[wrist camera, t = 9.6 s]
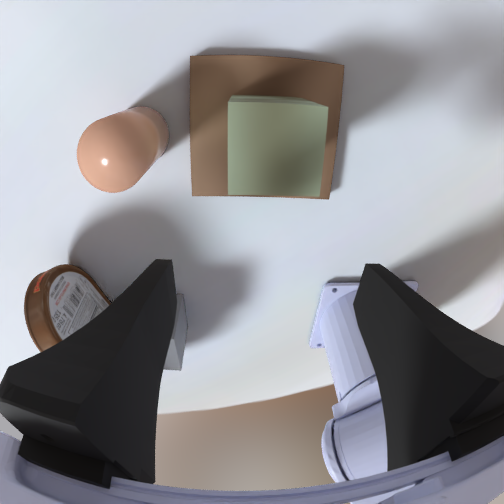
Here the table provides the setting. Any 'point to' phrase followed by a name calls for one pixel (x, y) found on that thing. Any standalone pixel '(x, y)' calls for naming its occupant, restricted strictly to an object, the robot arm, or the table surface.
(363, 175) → the table surface
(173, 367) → the grey block
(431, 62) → the table surface
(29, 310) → the tin
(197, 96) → the walnut board
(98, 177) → the peach rounded capsule
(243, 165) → the green block
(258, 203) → the table surface
